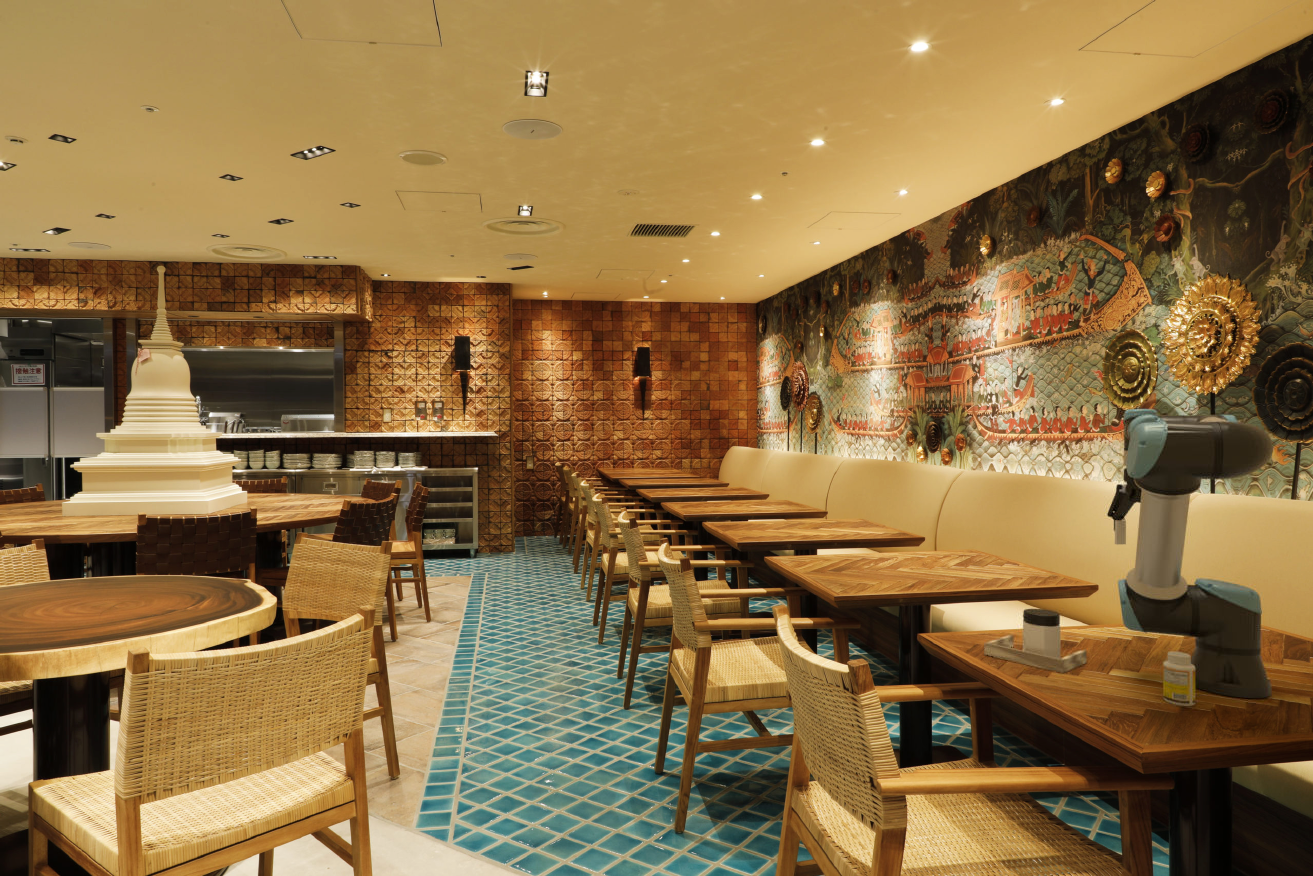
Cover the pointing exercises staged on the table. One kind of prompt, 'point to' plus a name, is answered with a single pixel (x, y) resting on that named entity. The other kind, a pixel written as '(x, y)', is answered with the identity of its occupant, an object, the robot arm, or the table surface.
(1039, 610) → the jar
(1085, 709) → the table surface
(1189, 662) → the supplement bottle
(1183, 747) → the table surface
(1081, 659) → the corral
